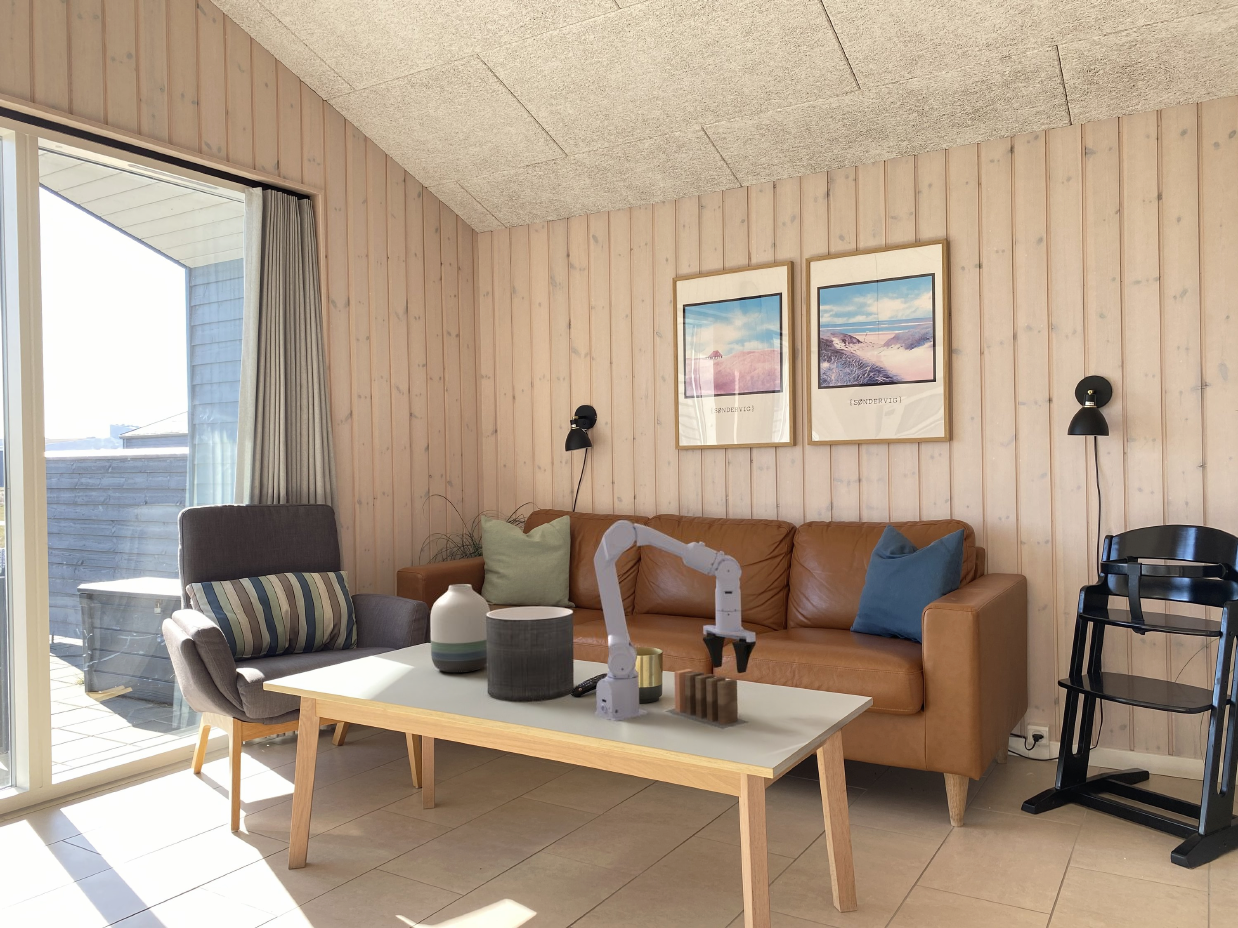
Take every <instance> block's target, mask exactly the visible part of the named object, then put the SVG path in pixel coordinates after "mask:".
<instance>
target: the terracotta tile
mask: <svg viewBox="0 0 1238 928" xmlns="http://www.w3.org/2000/svg"><path fill="white" fill-rule="evenodd" d="M693 672H694V669H692V668H691V669H690V668H685V669H682V670H675V671H674V674H673V675H674V705H675V706H674V709H675V711H676V712H684V711H685V674H688V673H693Z"/></svg>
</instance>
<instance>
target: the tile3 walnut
mask: <svg viewBox="0 0 1238 928" xmlns="http://www.w3.org/2000/svg"><path fill="white" fill-rule="evenodd" d="M711 678H715V674H712V673H707V674H704V675H702V676H697V677H695V686H696V717H697V718H700V719H702V718H706V717H707V694H706V679H711Z"/></svg>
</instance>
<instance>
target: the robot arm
mask: <svg viewBox="0 0 1238 928" xmlns="http://www.w3.org/2000/svg"><path fill="white" fill-rule="evenodd" d="M635 542H636V546H637V547H641V546H653V547H654V548H658V549H660V550H663V551H665V552H668V553H671V554H673V555H675V556H678V557H681V560H682V561H683V564H684V565H685V566H687V567H689V568H691V569H693V570H696V571H698V572H700V573H703V574H705V575H707V576H709V577H710V576H715V577H716V579H715V582H716V588H715V589H714V591H715V598H714V599H715V625H711V624H706V625H703V626H702V627H703V628H702V629H703V635H706V636H703V637H702V641H703V643H704V645H705V646H706V648H707V650H708V654H709V657H710V660H711V663H712V667H713V668H714V669H715V668H717V669H718V668H721V667H722V666H723V652H724V651H723V650H724V643H725V641H726V640H725V639H727V638H728V639H734V640H735V641H731V645H732V647H733V650H734V654H735V659H736V660H735V662H736V672H737V673H738V674H743V673H746V672H747V668H748V665H749V664H748V663H749V659H750V657H751V654H752V652H753V651H754V650H753V649H754V648H755V646H756V642H757V641H756V632H754V631H750V630H747V629H744V627H742V604H741V603H742V599H741V595H742V594H741V588H740V585H741V580H740V578H741V576H742V573H743V571H742V569H741V565H740V563H738V561H737V560H736V559H735V558H734V557H732V556H731V555H729V554H725V552H724V551H722V550H720V551H717V550H715V549H712V548H711V547H710V548H709V547H707V546H706V543H705V542H703V541H699V543H698V542H696V541H692V542H690V543H688V544H686V543H684V542H682V541H680V540H677V539H675V538H674V537H671V536H670V535H669V536H668V535H667V534H665V533H663V532H661V531H659V530H656V529H655V528H652V527H650V526H649V527H648V526H647V525H645V524H644V525H643V524H639V523H633V522H631V520H626V519H621V520H617V521H616V522H614V523H613V524H612V525H611V526H610V527H609V528H608V529H607V530H606V531H605V532H604V534H603V536H602V539H601V540H600V544H599V545H598V547H597V550H596V552H595V555H594V557H593V565H594V570H595V574H596V579H597V585H598V591H599V595H600V597H599V598H600V601H601V607H602V610H603V616H604V622H605V627H606V628H605V629H606V633H607V640H608V641H607V642H608V651H609V656H608V659H607V666H608V668H607V669H608V671H607V673H606V676H605V677H604V678H602V679H600V680H598V682H597V684H596V691H595V695H596V697H595V698H596V700H595V701H596V711H595V712H594V715H595V716H598V717H602V718H605V719H608V720H611V721H614V722H615V721H616V722H617V721H621V720H622V721H623V720H627V719H631V718H635V717H638V716H644V715H647V714H648V711H646V710H643V709H640V685H639V683H640V681H639V680H640V679H639V677H640V676H639V671H638V670H636V663H637V659H638V652H637V649H636V648H635V647H634V646H633V644H632V641H631V637H630V634H629V631H628V625H627V622H626V616H625V615H626V614H625V611H624V610H625V609H624V606H623V605H624V604H623V600H622V596H621V595H622V594H621V590H620V584H619V578H618V574H617V568H616V562H617V561H618V559H619V558H620V556H621V555H622V553H624V552H625V551H627V550H628V549H630V547H632V546H633V545H634V543H635Z"/></svg>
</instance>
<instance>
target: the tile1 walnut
mask: <svg viewBox="0 0 1238 928" xmlns="http://www.w3.org/2000/svg"><path fill="white" fill-rule="evenodd" d="M717 687H718V724H721V725H727V724H731V723H734V722H738V719H739V717H738V714H739V713H738V710H739V709H738V708H739V707H738V680H737V679H734V678H733V679H732V678H731V679H726V680H725V681H720V682H717Z"/></svg>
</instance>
